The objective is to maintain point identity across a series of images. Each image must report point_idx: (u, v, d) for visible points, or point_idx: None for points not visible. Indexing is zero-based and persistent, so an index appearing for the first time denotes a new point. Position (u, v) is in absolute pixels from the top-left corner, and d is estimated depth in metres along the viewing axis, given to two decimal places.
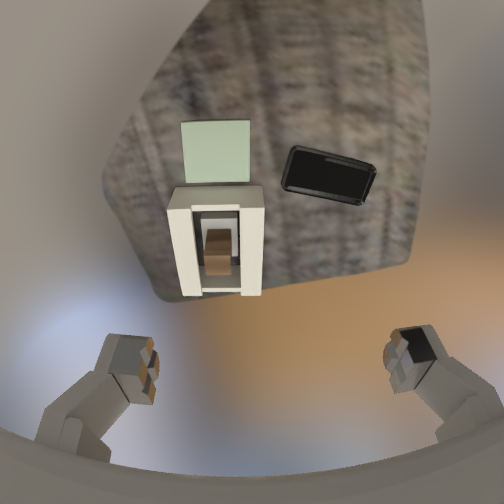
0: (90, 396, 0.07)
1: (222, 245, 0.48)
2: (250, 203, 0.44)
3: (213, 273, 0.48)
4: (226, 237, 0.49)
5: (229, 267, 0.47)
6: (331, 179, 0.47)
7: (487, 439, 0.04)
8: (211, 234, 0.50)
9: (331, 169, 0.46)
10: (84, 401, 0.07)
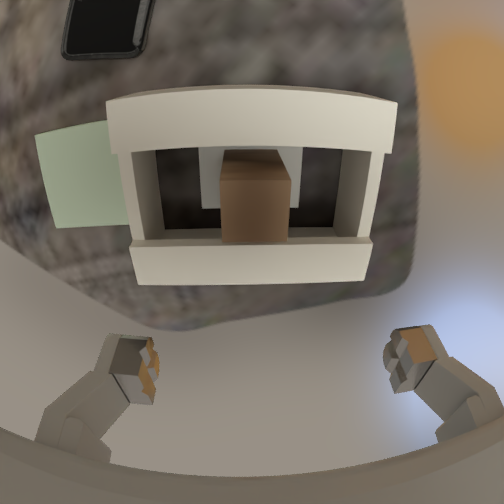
0: (90, 396, 0.07)
1: None
2: None
3: (283, 223, 0.18)
4: None
5: (262, 183, 0.17)
6: None
7: (487, 439, 0.04)
8: None
9: None
10: (84, 400, 0.07)
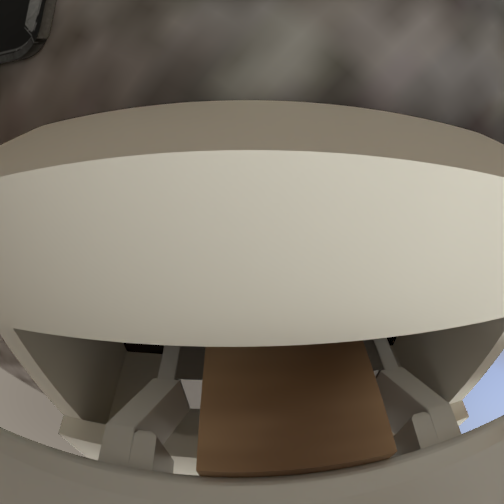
0: (158, 405, 0.07)
1: None
2: None
3: None
4: None
5: (321, 468, 0.05)
6: None
7: (487, 439, 0.04)
8: None
9: None
10: (152, 411, 0.07)
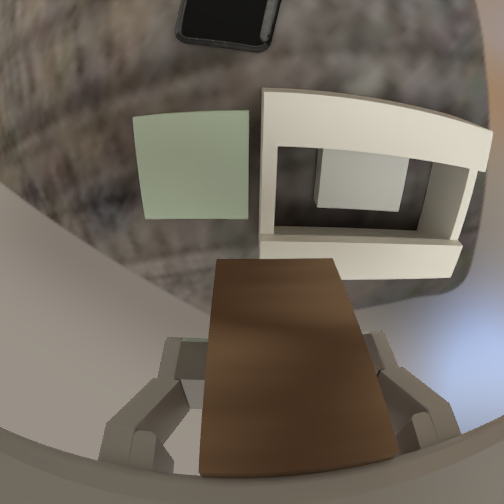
0: (158, 405, 0.07)
1: None
2: None
3: None
4: None
5: (323, 469, 0.05)
6: None
7: (487, 439, 0.04)
8: None
9: None
10: (152, 410, 0.07)
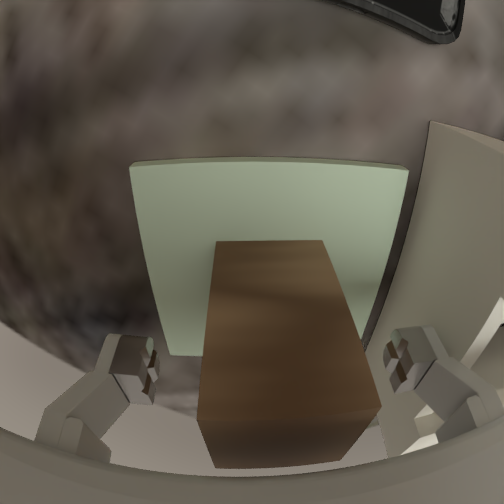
0: (90, 396, 0.07)
1: None
2: None
3: (341, 449, 0.07)
4: None
5: (310, 420, 0.06)
6: None
7: (487, 439, 0.04)
8: None
9: None
10: (83, 400, 0.07)
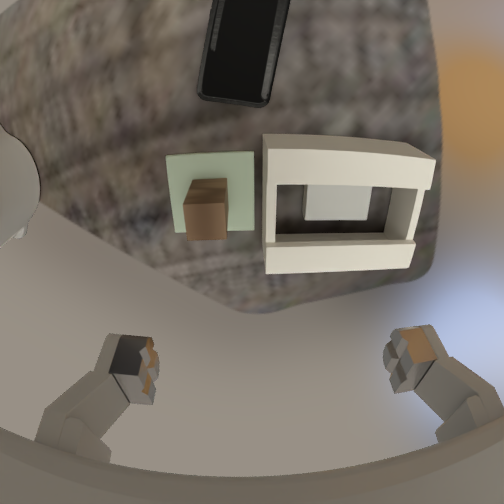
0: (90, 396, 0.07)
1: None
2: (266, 165, 0.29)
3: (223, 228, 0.30)
4: None
5: (207, 205, 0.29)
6: (246, 36, 0.26)
7: (487, 439, 0.04)
8: None
9: (229, 39, 0.26)
10: (84, 400, 0.07)
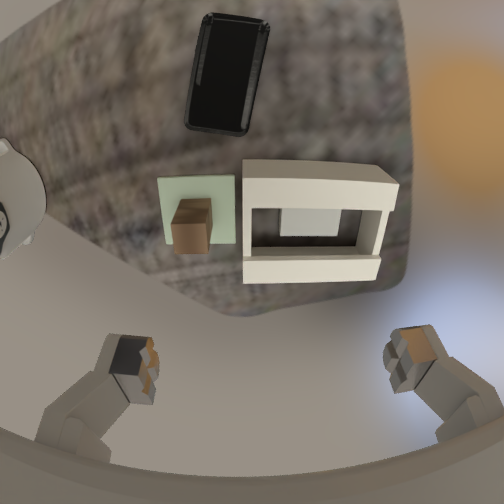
0: (90, 396, 0.07)
1: None
2: None
3: (204, 244, 0.35)
4: None
5: (191, 225, 0.34)
6: (228, 71, 0.30)
7: (487, 439, 0.04)
8: None
9: (212, 74, 0.31)
10: (84, 400, 0.07)
